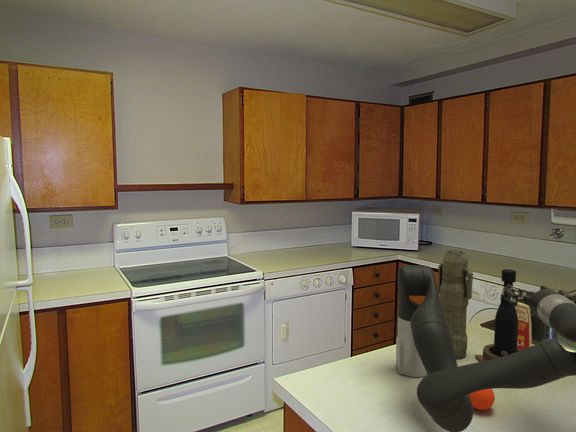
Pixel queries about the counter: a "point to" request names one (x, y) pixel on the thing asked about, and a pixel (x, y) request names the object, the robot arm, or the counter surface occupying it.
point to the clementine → (482, 399)
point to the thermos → (455, 297)
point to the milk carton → (523, 326)
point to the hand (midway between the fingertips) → (524, 288)
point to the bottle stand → (488, 353)
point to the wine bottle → (506, 321)
